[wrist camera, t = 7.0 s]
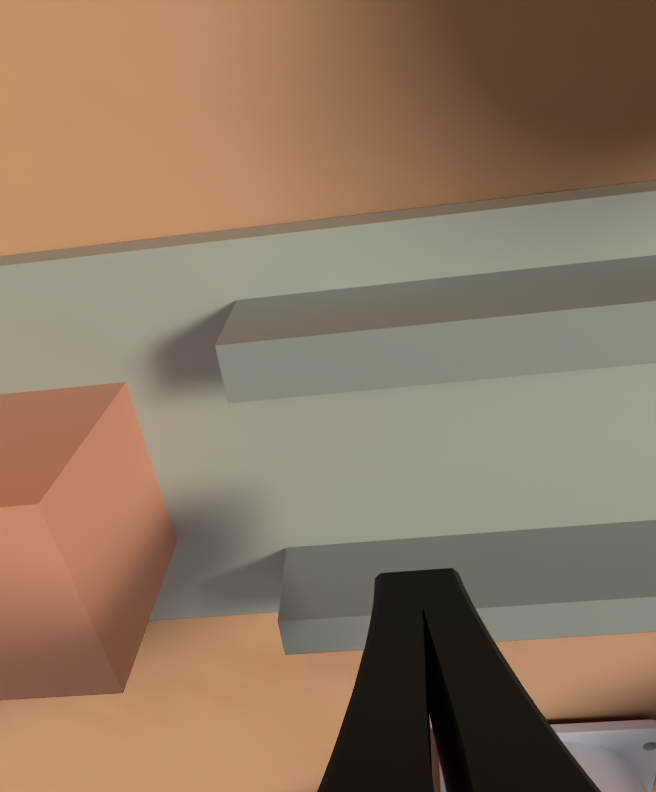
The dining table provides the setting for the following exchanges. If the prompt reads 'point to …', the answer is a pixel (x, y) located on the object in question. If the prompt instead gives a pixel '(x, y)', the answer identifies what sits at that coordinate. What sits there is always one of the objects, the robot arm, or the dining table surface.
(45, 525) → the block
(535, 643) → the dining table surface
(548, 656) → the dining table surface
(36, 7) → the dining table surface
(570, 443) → the chute
